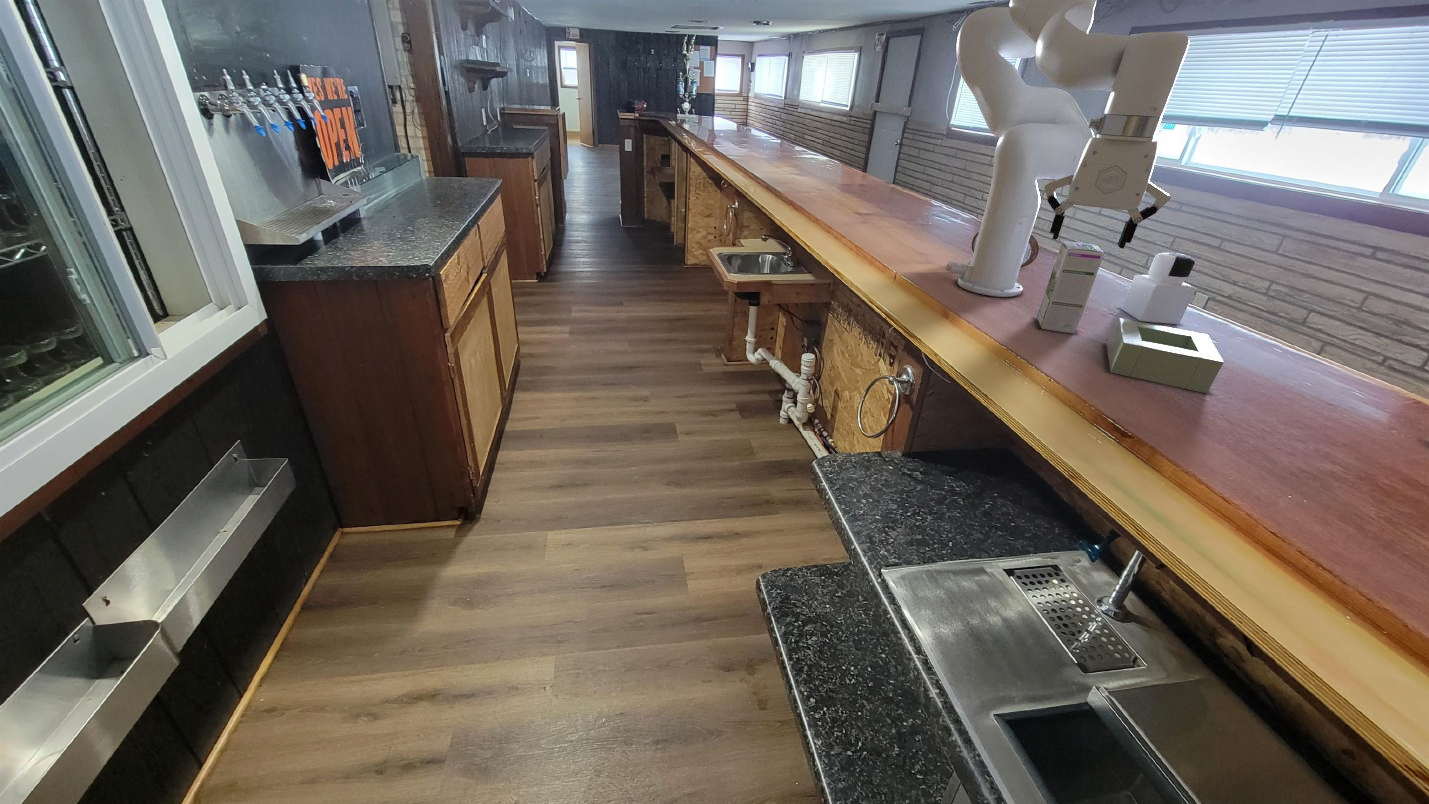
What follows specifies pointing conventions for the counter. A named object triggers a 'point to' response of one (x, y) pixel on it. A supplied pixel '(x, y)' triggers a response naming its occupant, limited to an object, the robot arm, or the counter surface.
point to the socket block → (1163, 355)
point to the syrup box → (1069, 286)
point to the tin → (1029, 253)
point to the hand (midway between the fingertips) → (1086, 242)
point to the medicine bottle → (1161, 290)
